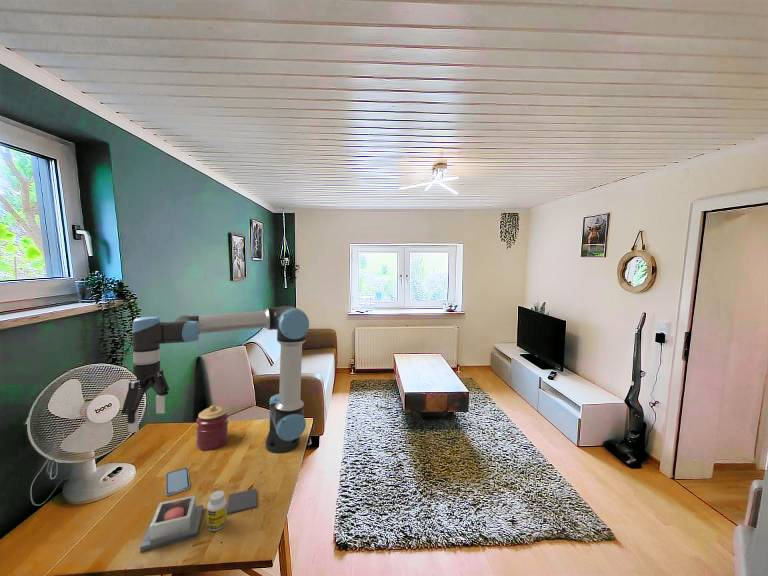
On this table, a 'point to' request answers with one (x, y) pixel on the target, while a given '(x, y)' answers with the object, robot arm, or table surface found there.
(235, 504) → the gray square plate
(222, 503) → the supplement bottle
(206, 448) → the canister
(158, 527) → the grey open box
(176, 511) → the breaker button
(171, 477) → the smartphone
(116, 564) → the table surface
